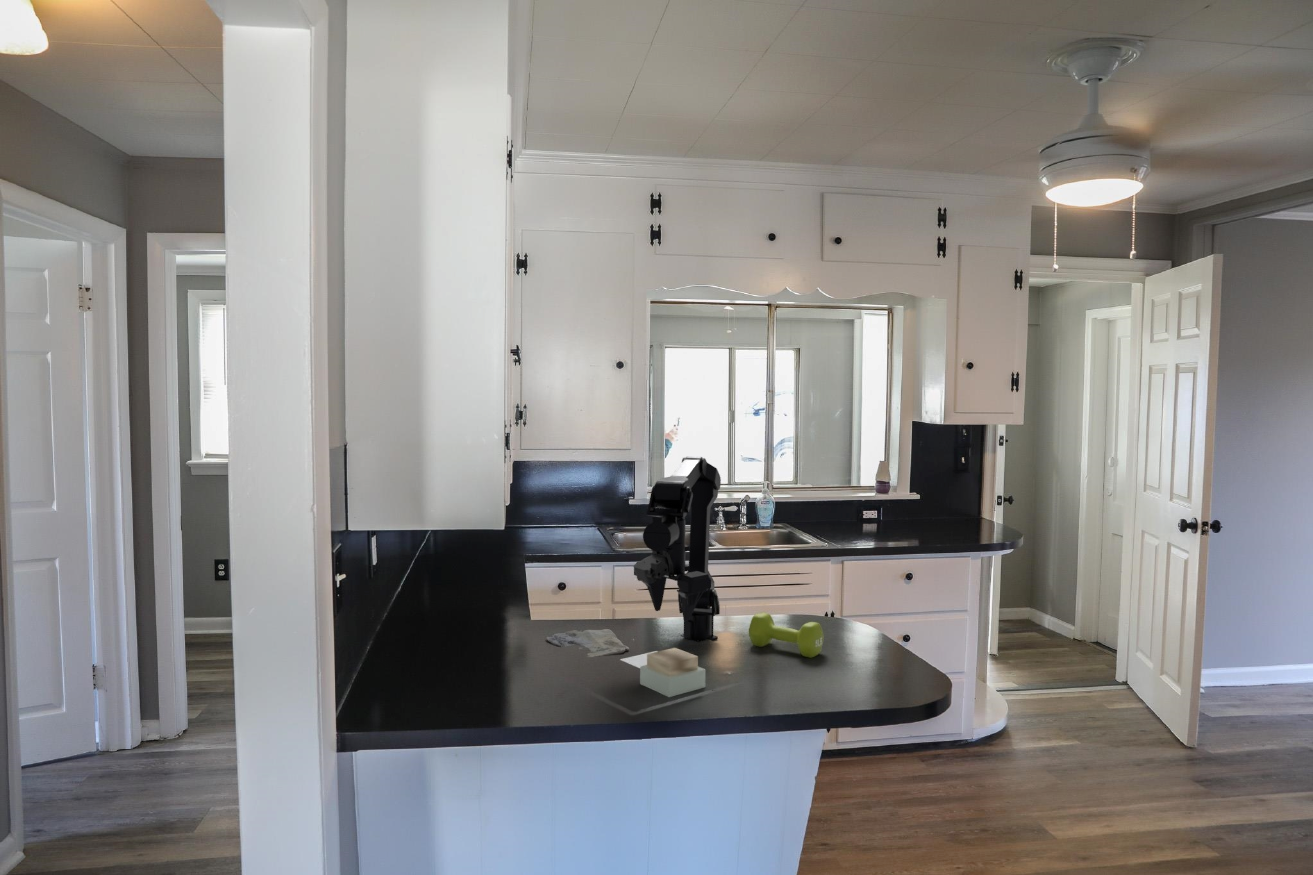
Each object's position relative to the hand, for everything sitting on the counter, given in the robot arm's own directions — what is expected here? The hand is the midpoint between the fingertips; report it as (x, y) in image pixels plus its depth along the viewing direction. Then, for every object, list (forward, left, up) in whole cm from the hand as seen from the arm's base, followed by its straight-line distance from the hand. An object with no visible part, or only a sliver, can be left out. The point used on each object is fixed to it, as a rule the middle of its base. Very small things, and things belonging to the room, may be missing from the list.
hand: (671, 615), depth 172 cm
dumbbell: (-29, +5, -12) cm, 32 cm away
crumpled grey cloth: (+5, -23, -12) cm, 27 cm away
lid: (+7, +9, -7) cm, 13 cm away
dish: (+7, +9, -11) cm, 16 cm away
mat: (+1, -5, -11) cm, 12 cm away
